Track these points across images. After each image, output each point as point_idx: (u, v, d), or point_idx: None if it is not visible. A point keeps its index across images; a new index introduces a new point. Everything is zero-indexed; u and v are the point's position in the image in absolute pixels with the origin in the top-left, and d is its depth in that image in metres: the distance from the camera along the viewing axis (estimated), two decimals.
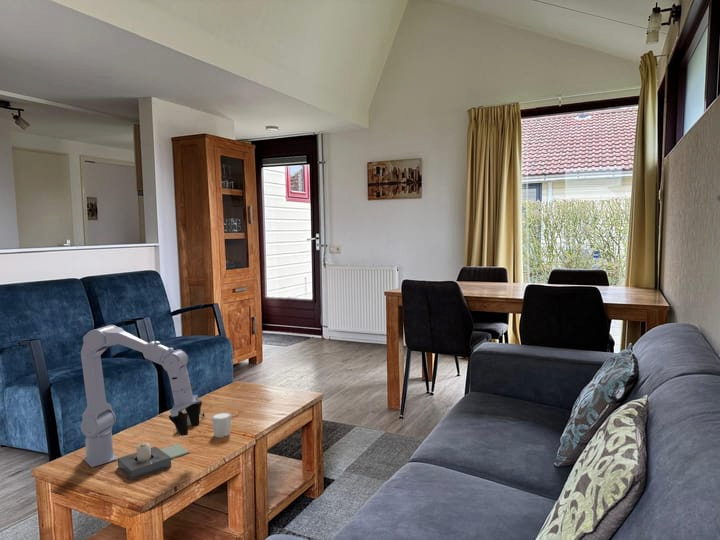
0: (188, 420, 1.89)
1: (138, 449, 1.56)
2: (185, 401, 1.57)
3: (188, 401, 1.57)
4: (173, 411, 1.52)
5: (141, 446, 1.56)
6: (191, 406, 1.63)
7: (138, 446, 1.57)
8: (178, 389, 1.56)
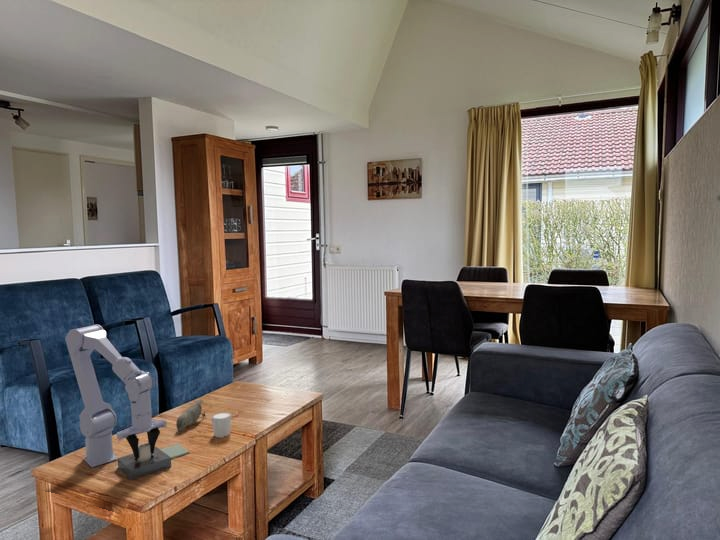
0: (189, 420, 1.90)
1: (138, 449, 1.56)
2: (137, 427, 1.54)
3: (139, 428, 1.54)
4: (118, 434, 1.52)
5: (141, 446, 1.56)
6: (149, 432, 1.59)
7: (138, 446, 1.57)
8: (135, 414, 1.54)
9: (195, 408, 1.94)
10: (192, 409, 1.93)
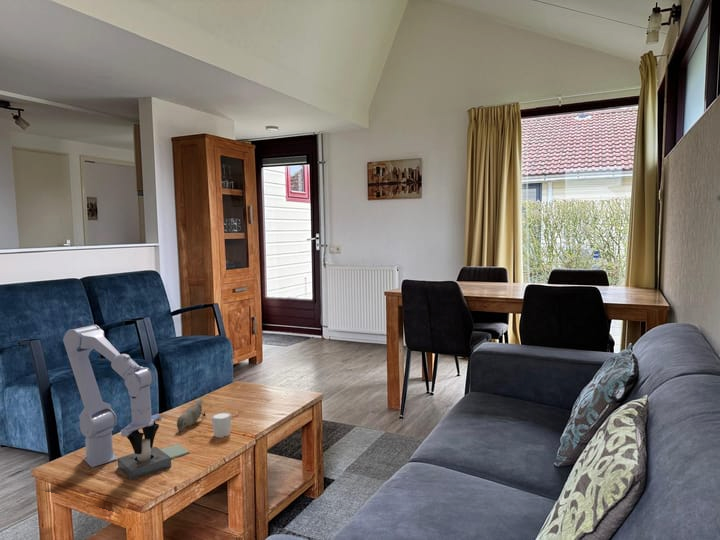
0: (190, 420, 1.90)
1: None
2: (140, 422, 1.54)
3: (143, 422, 1.55)
4: (123, 431, 1.50)
5: (142, 441, 1.56)
6: (147, 427, 1.59)
7: None
8: (135, 409, 1.54)
9: (195, 408, 1.94)
10: (192, 409, 1.93)
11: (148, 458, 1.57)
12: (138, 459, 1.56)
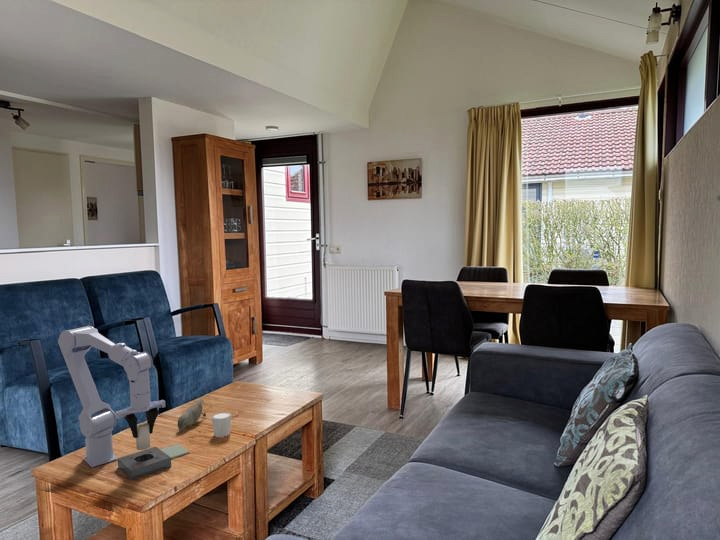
0: (190, 419, 1.90)
1: (137, 429, 1.55)
2: (135, 406, 1.54)
3: (138, 407, 1.54)
4: (116, 413, 1.52)
5: (140, 426, 1.56)
6: (148, 412, 1.58)
7: (137, 426, 1.56)
8: (134, 393, 1.53)
9: (196, 408, 1.94)
10: (193, 409, 1.93)
11: (144, 443, 1.56)
12: (136, 443, 1.56)
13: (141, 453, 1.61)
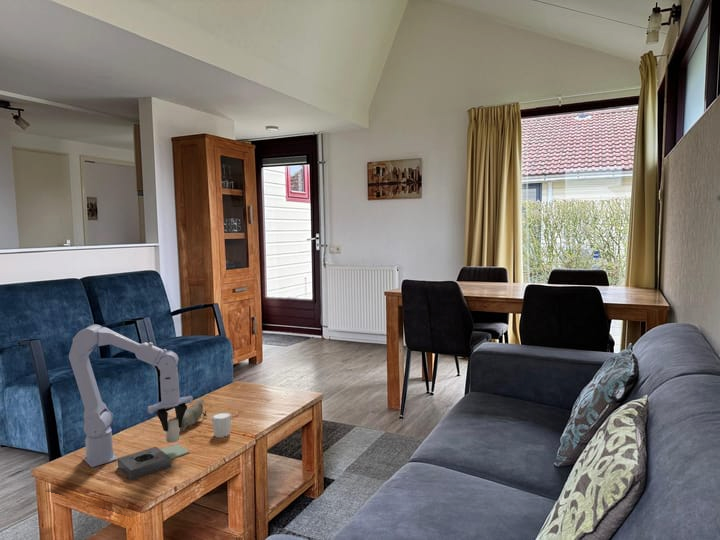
0: (191, 419, 1.90)
1: (167, 422, 1.66)
2: (166, 402, 1.64)
3: (168, 402, 1.64)
4: (148, 408, 1.62)
5: (170, 420, 1.67)
6: (177, 407, 1.69)
7: (167, 420, 1.67)
8: (170, 389, 1.64)
9: (197, 408, 1.95)
10: (194, 409, 1.93)
11: (174, 436, 1.66)
12: (166, 436, 1.67)
13: (141, 453, 1.61)
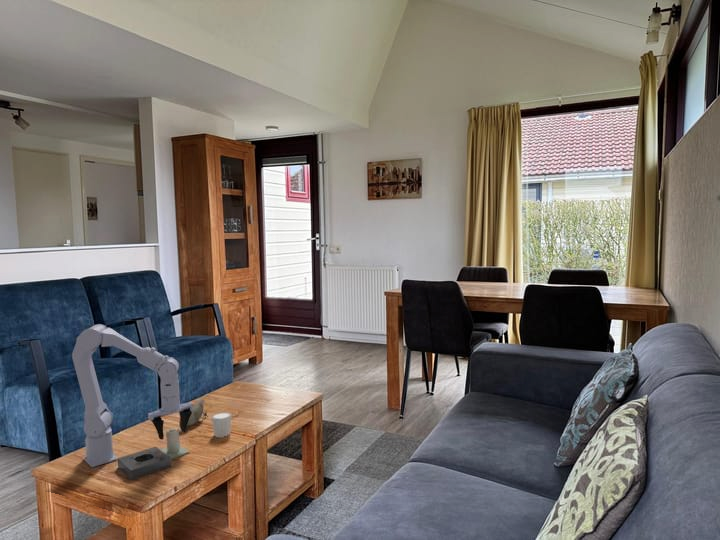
0: (192, 419, 1.90)
1: (168, 433, 1.66)
2: (166, 408, 1.64)
3: (169, 409, 1.65)
4: (149, 415, 1.62)
5: (170, 431, 1.67)
6: (182, 413, 1.70)
7: (167, 431, 1.67)
8: (170, 395, 1.64)
9: (197, 407, 1.95)
10: (194, 408, 1.93)
11: (175, 447, 1.67)
12: (167, 447, 1.67)
13: (141, 453, 1.61)
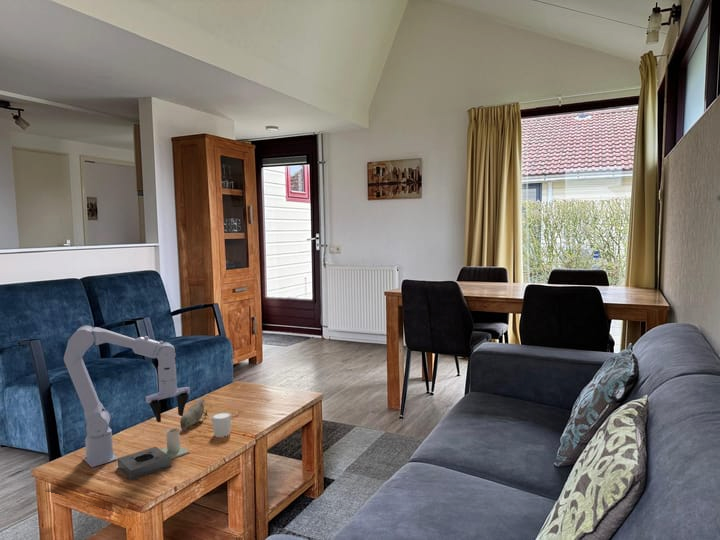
0: (193, 419, 1.90)
1: (168, 434, 1.66)
2: (163, 392, 1.68)
3: (166, 393, 1.68)
4: (146, 398, 1.66)
5: (171, 431, 1.67)
6: (179, 396, 1.73)
7: (168, 431, 1.67)
8: (169, 379, 1.68)
9: (198, 407, 1.95)
10: (195, 408, 1.93)
11: (175, 447, 1.67)
12: (167, 447, 1.67)
13: (141, 453, 1.61)
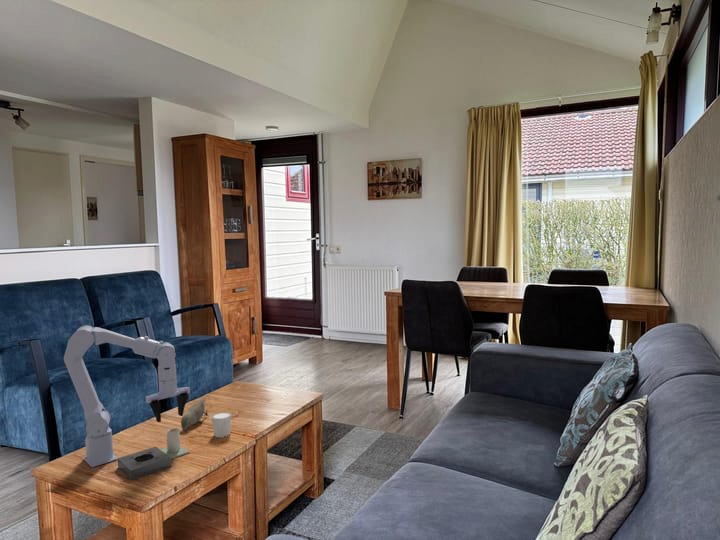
0: (193, 419, 1.90)
1: (168, 433, 1.66)
2: (163, 392, 1.68)
3: (166, 393, 1.68)
4: (146, 398, 1.66)
5: (171, 431, 1.67)
6: (179, 396, 1.73)
7: (168, 431, 1.67)
8: (169, 379, 1.68)
9: (198, 407, 1.95)
10: (196, 408, 1.94)
11: (175, 447, 1.67)
12: (167, 446, 1.67)
13: (141, 453, 1.61)
